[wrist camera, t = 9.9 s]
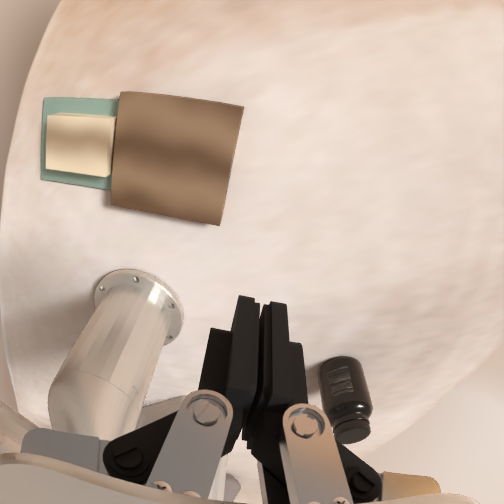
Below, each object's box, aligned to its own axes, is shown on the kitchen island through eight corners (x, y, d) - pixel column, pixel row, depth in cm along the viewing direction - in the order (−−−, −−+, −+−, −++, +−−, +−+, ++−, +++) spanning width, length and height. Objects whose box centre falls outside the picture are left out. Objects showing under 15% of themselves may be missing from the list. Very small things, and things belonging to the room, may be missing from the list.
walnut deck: (221, 218, 34) (219, 225, 33) (118, 198, 34) (110, 204, 32) (244, 106, 29) (242, 107, 27) (128, 91, 28) (120, 91, 26)
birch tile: (115, 171, 32) (105, 177, 30) (57, 163, 31) (45, 168, 29) (120, 116, 29) (110, 119, 27) (59, 112, 28) (47, 115, 26)
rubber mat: (116, 189, 33) (114, 190, 33) (43, 178, 32) (41, 179, 32) (124, 100, 28) (123, 100, 28) (46, 97, 28) (44, 97, 27)
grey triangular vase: (246, 410, 51) (235, 562, 26) (224, 443, 58) (211, 565, 33) (138, 380, 49) (90, 529, 24) (134, 419, 55) (100, 539, 31)
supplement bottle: (311, 382, 47) (318, 448, 36) (325, 352, 43) (337, 423, 33) (351, 384, 47) (364, 447, 36) (368, 356, 44) (387, 422, 33)
